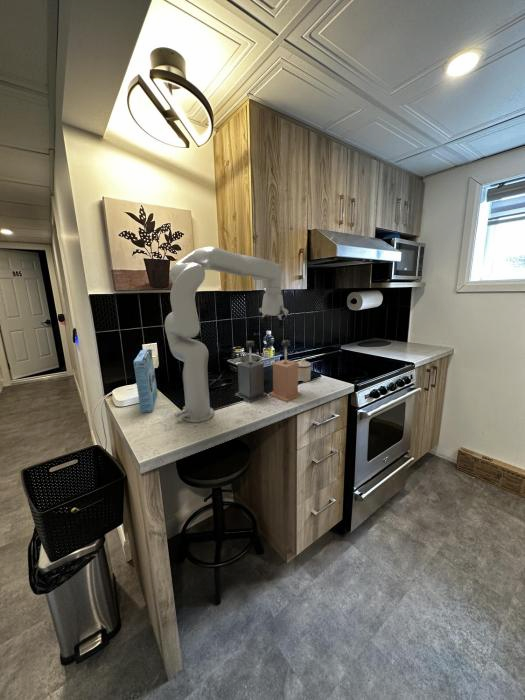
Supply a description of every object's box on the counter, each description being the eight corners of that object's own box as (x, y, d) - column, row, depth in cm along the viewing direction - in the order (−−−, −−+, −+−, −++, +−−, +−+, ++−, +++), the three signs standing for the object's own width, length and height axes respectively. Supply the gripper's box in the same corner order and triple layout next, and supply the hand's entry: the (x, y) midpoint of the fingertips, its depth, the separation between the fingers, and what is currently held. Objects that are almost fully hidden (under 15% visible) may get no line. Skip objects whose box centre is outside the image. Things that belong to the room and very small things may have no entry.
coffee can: (243, 379, 152) (242, 354, 148) (261, 379, 151) (261, 355, 147) (239, 386, 142) (238, 360, 138) (259, 386, 141) (259, 360, 137)
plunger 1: (250, 381, 123) (249, 344, 118) (240, 377, 128) (239, 341, 123) (261, 377, 127) (260, 341, 123) (251, 373, 132) (250, 339, 128)
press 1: (250, 403, 122) (249, 369, 118) (233, 395, 131) (231, 363, 127) (267, 395, 130) (267, 363, 125) (250, 388, 138) (249, 358, 134)
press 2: (286, 402, 122) (286, 368, 118) (266, 394, 131) (266, 362, 127) (301, 395, 130) (302, 363, 126) (282, 388, 139) (282, 357, 134)
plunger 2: (286, 380, 123) (286, 343, 118) (275, 376, 128) (275, 341, 123) (295, 376, 127) (296, 341, 123) (285, 373, 132) (285, 338, 128)
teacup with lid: (314, 380, 148) (315, 360, 145) (300, 383, 144) (301, 362, 141) (301, 374, 159) (301, 354, 156) (288, 376, 155) (288, 357, 152)
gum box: (152, 412, 115) (146, 360, 109) (139, 413, 114) (132, 361, 108) (157, 393, 134) (152, 348, 128) (146, 395, 132) (140, 349, 126)
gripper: (254, 290, 131) (254, 325, 136) (283, 291, 120) (282, 329, 125) (264, 290, 137) (264, 324, 141) (292, 291, 126) (291, 327, 130)
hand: (272, 326), depth 133 cm, fingers open, 9 cm apart
